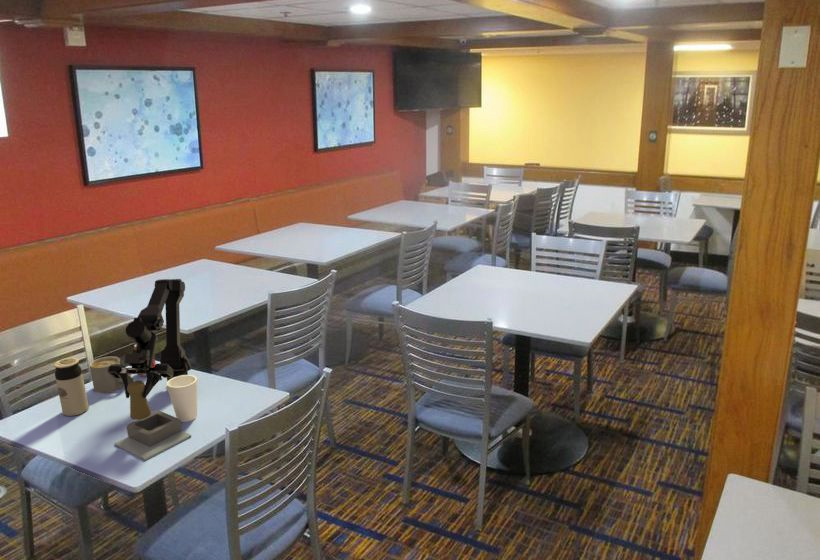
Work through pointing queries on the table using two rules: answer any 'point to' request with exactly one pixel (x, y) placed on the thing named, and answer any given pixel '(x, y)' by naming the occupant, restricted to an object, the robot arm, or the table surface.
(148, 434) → the socket
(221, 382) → the table surface
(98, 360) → the coffee mug
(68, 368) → the travel mug
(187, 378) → the foam cup
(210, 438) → the table surface
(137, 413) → the cork
